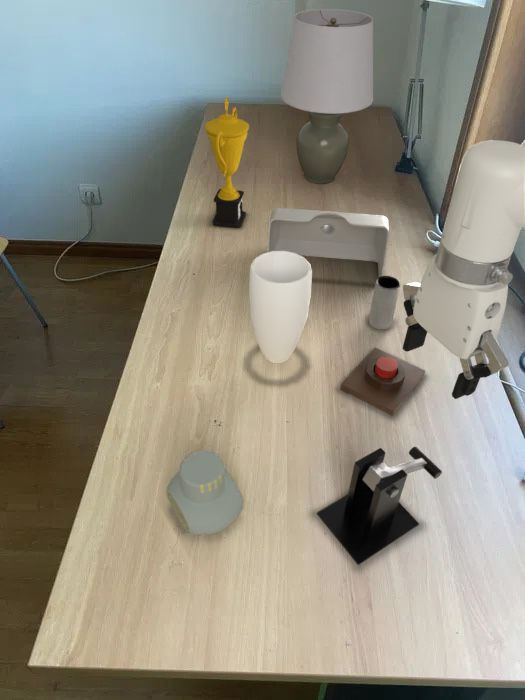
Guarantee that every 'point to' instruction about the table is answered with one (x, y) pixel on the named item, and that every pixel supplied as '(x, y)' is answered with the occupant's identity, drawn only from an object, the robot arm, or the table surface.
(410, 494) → the table surface
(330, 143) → the lamp
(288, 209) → the tank
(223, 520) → the air freshener
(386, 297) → the grey cylinder
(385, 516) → the black stand
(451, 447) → the table surface
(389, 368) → the button
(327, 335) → the table surface
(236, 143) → the trophy
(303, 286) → the cup
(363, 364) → the button block
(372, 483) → the lever
